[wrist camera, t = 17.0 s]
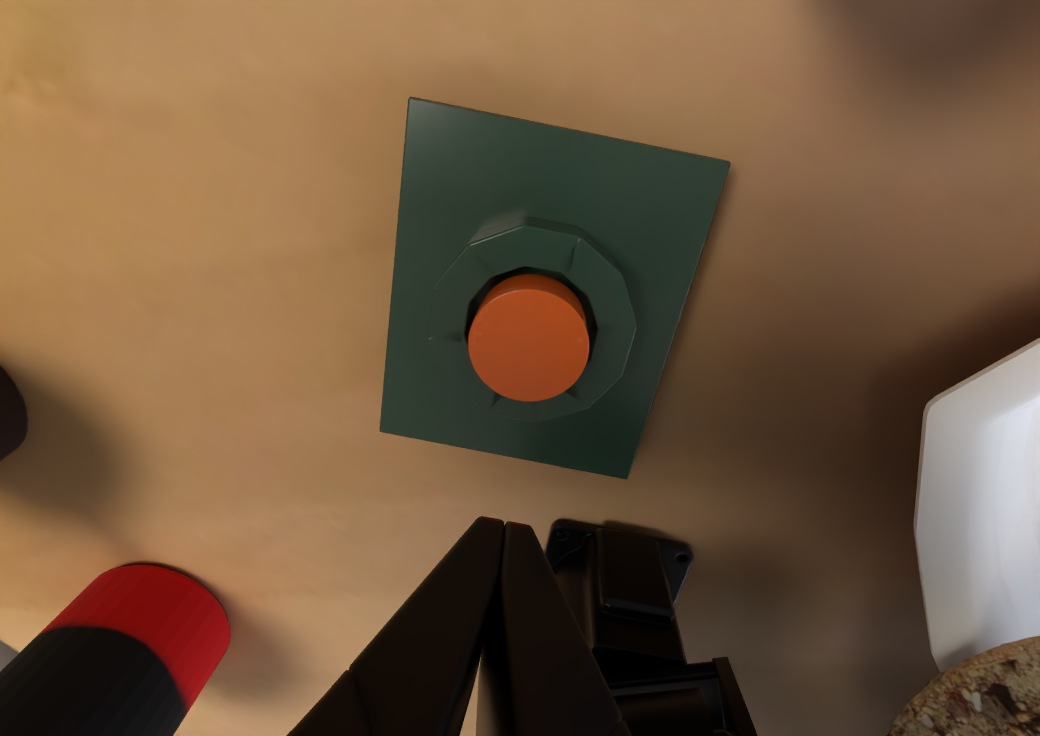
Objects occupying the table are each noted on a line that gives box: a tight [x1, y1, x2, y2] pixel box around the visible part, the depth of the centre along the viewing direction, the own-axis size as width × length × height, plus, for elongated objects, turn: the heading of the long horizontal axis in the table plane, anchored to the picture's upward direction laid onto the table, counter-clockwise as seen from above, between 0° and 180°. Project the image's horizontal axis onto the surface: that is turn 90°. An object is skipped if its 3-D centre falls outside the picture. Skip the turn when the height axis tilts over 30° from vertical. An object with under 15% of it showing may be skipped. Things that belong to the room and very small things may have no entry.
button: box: [468, 274, 589, 402], centre depth 17 cm, size 4×4×2 cm
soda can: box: [0, 565, 230, 736], centre depth 23 cm, size 8×8×12 cm
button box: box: [380, 97, 730, 479], centre depth 19 cm, size 12×10×4 cm
